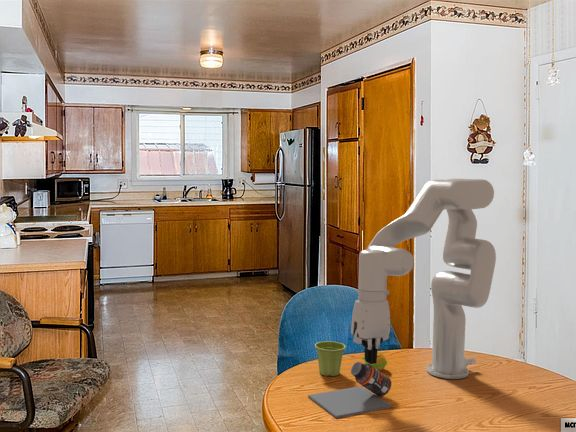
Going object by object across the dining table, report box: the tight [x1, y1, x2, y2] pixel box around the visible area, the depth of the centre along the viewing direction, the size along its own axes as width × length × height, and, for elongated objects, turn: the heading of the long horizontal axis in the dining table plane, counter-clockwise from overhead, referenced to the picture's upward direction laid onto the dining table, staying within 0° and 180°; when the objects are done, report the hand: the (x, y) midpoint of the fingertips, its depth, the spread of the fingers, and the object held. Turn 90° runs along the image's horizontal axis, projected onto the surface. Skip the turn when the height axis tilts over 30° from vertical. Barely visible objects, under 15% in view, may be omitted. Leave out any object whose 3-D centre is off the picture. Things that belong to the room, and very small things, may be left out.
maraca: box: [362, 352, 388, 371], centre depth 183 cm, size 7×10×5 cm
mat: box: [307, 385, 393, 419], centre depth 156 cm, size 17×15×1 cm
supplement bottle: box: [350, 361, 392, 398], centre depth 159 cm, size 6×6×11 cm
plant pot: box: [314, 340, 347, 377], centre depth 179 cm, size 9×9×9 cm
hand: (370, 362), depth 158 cm, fingers closed
